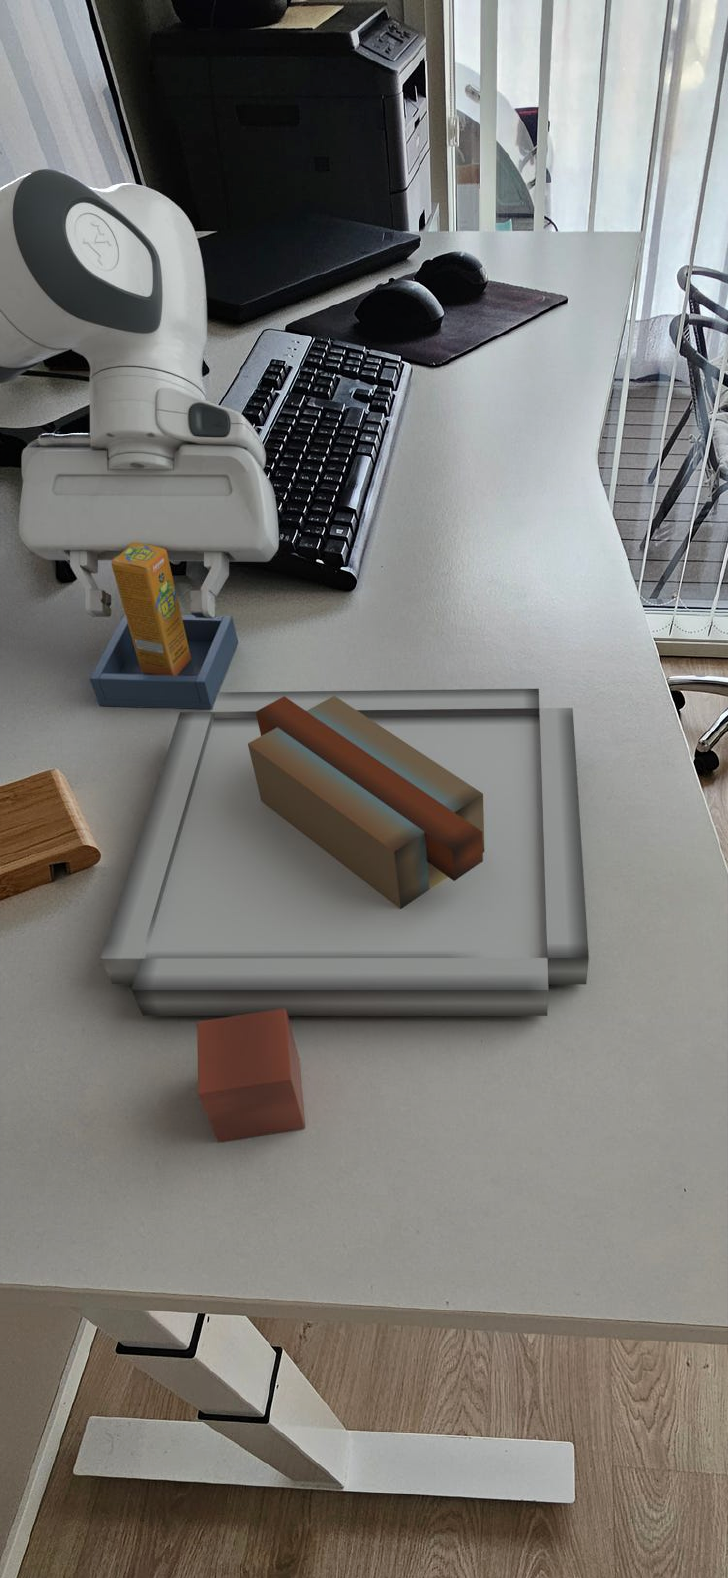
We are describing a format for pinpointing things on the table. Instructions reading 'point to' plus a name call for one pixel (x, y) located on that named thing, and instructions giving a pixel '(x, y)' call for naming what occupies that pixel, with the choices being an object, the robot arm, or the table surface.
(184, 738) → the grey square tray
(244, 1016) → the rust block
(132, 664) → the blue tray
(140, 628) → the supplement box
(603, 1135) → the table surface
